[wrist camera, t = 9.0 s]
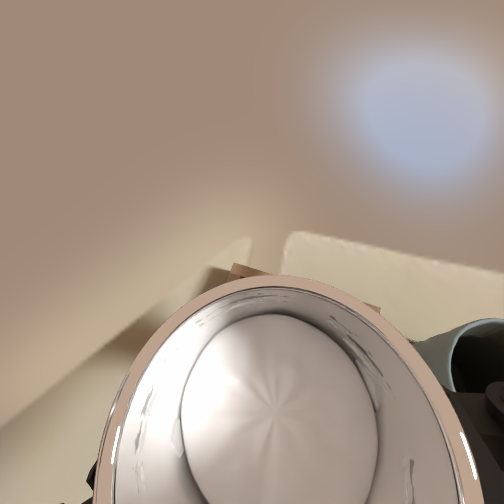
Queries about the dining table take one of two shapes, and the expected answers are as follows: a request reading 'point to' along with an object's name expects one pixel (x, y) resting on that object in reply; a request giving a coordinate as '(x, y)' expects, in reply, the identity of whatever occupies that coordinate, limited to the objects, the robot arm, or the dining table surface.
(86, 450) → the dining table surface
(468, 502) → the beer glass
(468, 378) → the grey green cup
